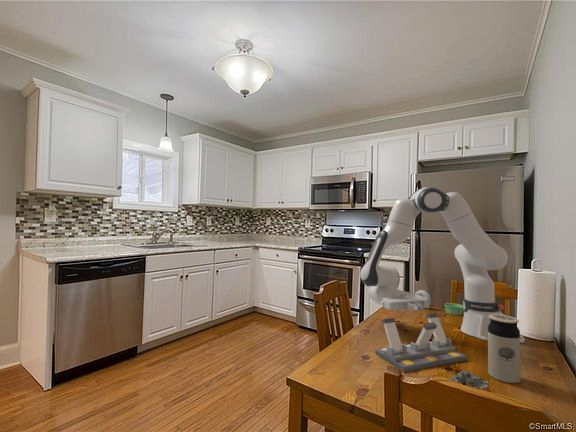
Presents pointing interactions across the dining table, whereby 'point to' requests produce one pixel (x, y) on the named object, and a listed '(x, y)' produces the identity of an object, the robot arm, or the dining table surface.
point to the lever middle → (425, 334)
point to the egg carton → (470, 380)
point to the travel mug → (504, 348)
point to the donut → (424, 295)
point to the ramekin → (453, 308)
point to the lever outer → (392, 334)
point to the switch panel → (421, 355)
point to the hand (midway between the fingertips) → (419, 308)
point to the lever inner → (437, 328)
